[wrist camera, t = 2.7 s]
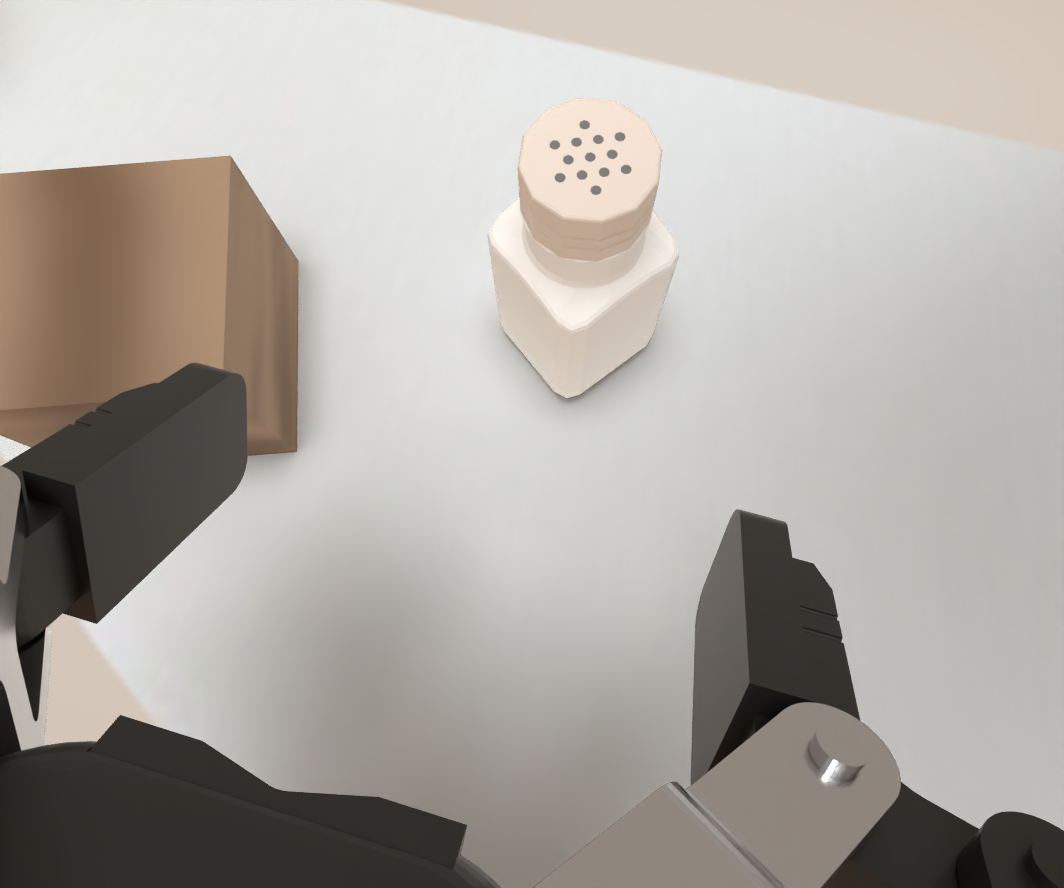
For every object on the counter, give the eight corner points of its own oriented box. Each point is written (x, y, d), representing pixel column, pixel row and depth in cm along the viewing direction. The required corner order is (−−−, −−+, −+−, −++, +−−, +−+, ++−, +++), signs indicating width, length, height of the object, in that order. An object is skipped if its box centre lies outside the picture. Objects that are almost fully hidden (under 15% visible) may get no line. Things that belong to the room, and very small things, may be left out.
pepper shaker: (584, 258, 26) (604, 51, 17) (658, 342, 26) (719, 170, 16) (493, 323, 26) (463, 144, 17) (565, 411, 25) (574, 272, 16)
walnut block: (299, 262, 27) (230, 155, 21) (297, 452, 25) (222, 392, 19) (102, 277, 27) (-20, 175, 21) (86, 469, 25) (-53, 414, 19)
